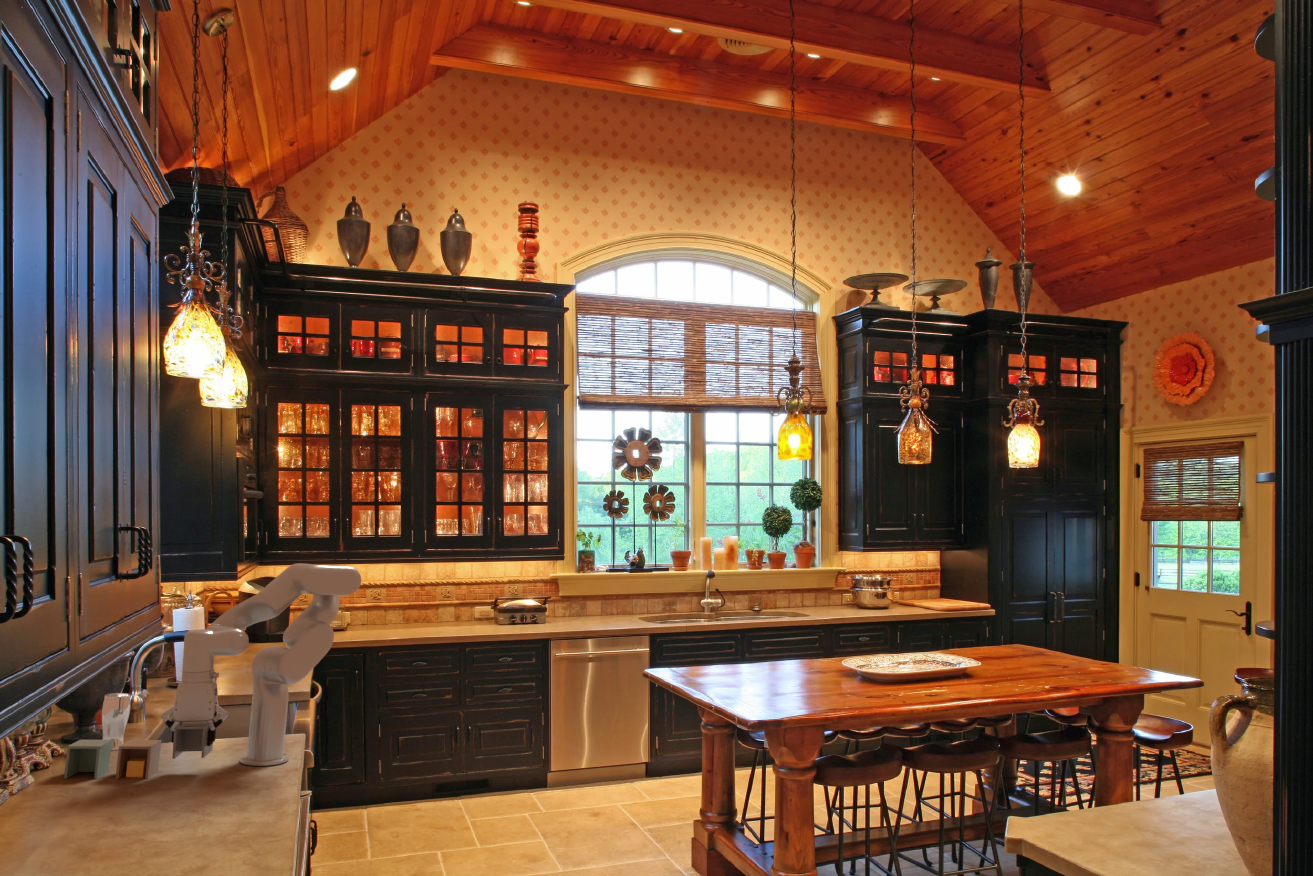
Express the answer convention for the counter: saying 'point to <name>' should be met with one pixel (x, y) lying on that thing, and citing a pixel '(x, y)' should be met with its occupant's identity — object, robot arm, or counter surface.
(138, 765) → the orange block
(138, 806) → the counter surface
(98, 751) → the green open box
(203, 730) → the grey open box
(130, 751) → the tan cardboard-coloured box
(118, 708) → the beer glass
